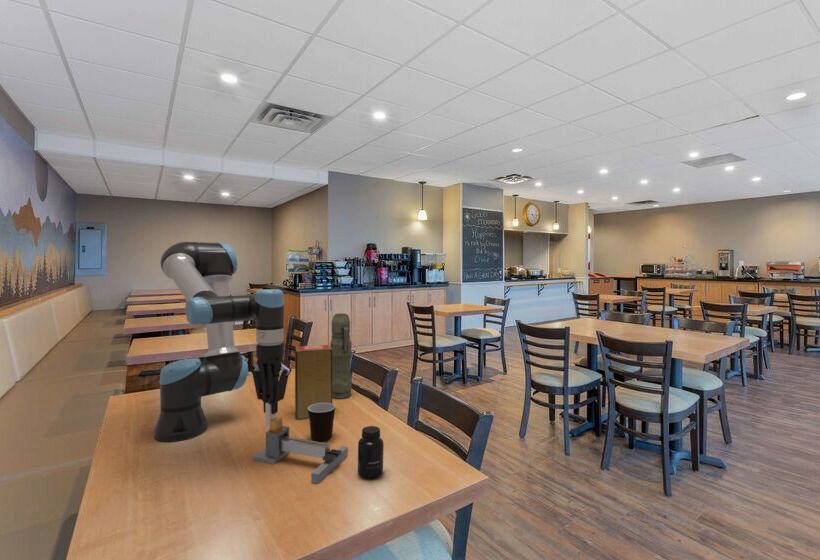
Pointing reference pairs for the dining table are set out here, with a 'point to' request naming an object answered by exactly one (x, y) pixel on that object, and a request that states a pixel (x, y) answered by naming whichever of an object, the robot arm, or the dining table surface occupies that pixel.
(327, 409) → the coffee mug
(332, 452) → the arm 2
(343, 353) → the thermos
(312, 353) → the food packaging
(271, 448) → the collar
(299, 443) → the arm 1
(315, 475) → the stand
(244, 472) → the dining table surface
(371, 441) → the supplement bottle
